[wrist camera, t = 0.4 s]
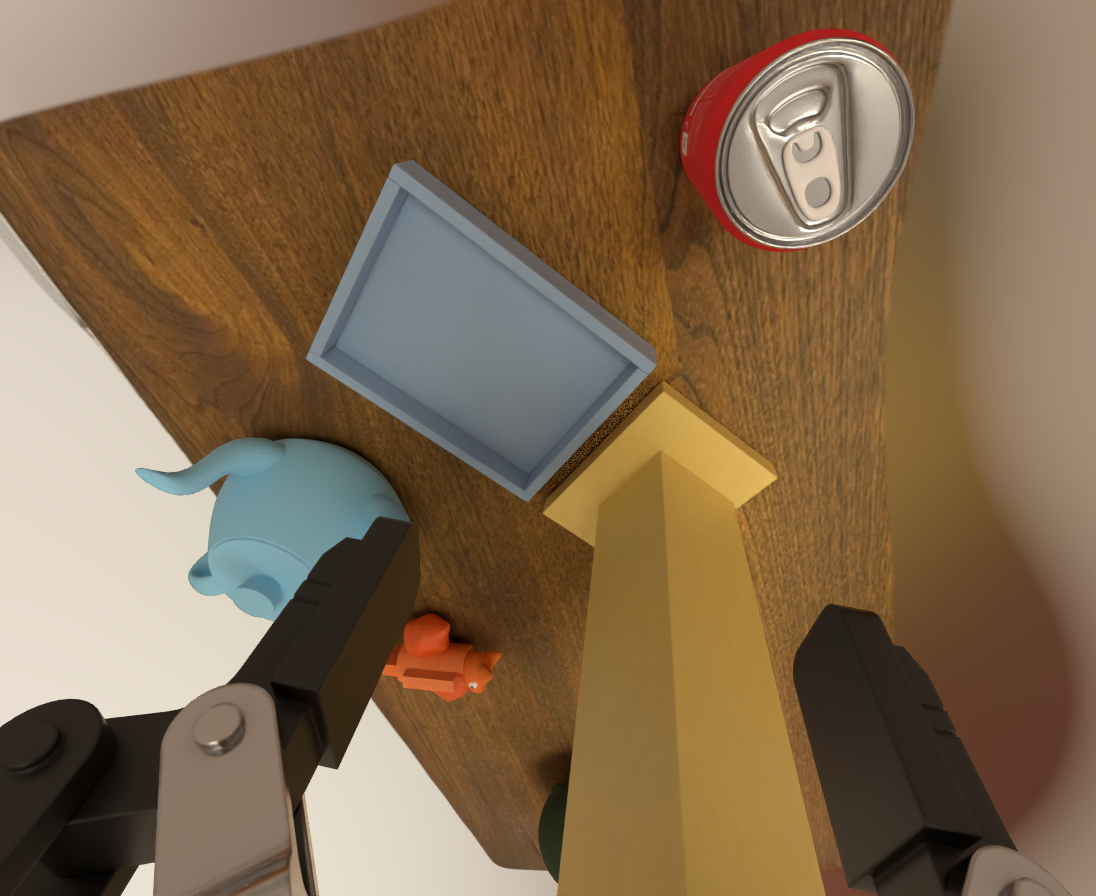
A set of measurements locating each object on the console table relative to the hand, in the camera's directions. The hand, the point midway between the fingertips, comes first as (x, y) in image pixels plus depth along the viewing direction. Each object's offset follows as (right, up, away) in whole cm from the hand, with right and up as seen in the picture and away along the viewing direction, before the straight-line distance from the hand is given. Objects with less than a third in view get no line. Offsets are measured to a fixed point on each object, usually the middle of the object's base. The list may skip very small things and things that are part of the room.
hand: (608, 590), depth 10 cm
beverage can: (+7, +17, +13) cm, 23 cm away
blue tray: (-5, +9, +20) cm, 23 cm away
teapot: (-16, -1, +29) cm, 33 cm away
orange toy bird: (-11, -14, +36) cm, 40 cm away
